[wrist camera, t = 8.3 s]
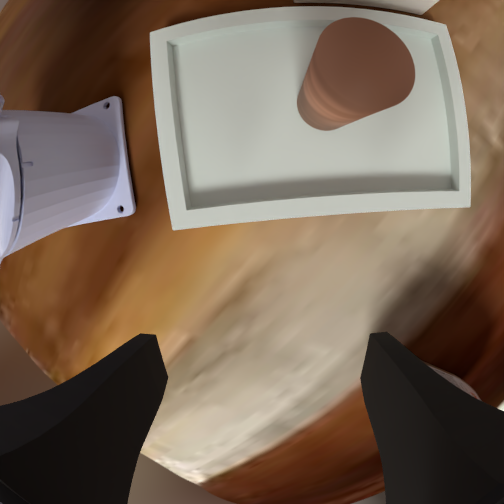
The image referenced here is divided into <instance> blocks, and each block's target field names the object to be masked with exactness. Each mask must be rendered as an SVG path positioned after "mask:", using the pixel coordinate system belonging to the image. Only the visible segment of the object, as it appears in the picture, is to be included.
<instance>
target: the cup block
mask: <svg viewBox="0 0 504 504" xmlns="http://www.w3.org/2000/svg"><path fill="white" fill-rule="evenodd" d="M293 1H294V3H339V4H353V5H364V6H372V7H380V8H387V9H393V10H398V11H404V12H409V13H413V14H418V15H422V14H423V13H424V12H426V11H427V10H428V9H429V8H430V7H432V6H433V5H434V4H435V3H437V2H438V1H439V0H293Z"/></svg>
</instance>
